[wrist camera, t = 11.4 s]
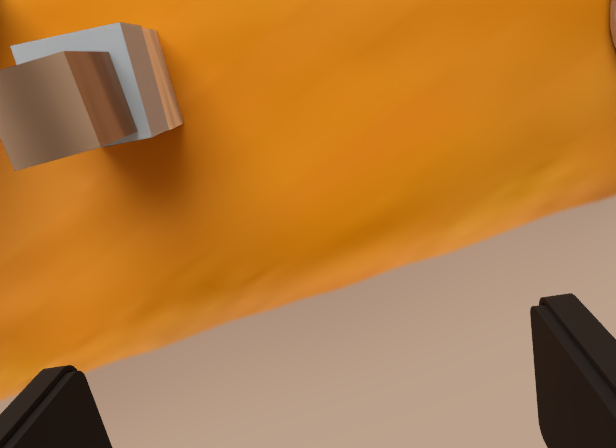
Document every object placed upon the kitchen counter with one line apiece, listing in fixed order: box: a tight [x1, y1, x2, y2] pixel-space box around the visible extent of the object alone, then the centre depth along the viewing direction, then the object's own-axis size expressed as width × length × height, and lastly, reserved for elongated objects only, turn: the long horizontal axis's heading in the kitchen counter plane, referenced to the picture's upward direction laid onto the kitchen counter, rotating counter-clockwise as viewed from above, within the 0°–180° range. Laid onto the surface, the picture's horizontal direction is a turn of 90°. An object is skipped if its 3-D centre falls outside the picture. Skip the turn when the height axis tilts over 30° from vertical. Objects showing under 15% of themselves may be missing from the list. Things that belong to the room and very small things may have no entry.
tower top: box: [10, 22, 169, 148], centre depth 35 cm, size 7×7×4 cm
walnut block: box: [0, 51, 138, 171], centre depth 30 cm, size 5×5×6 cm
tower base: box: [142, 28, 183, 131], centre depth 39 cm, size 7×7×4 cm
